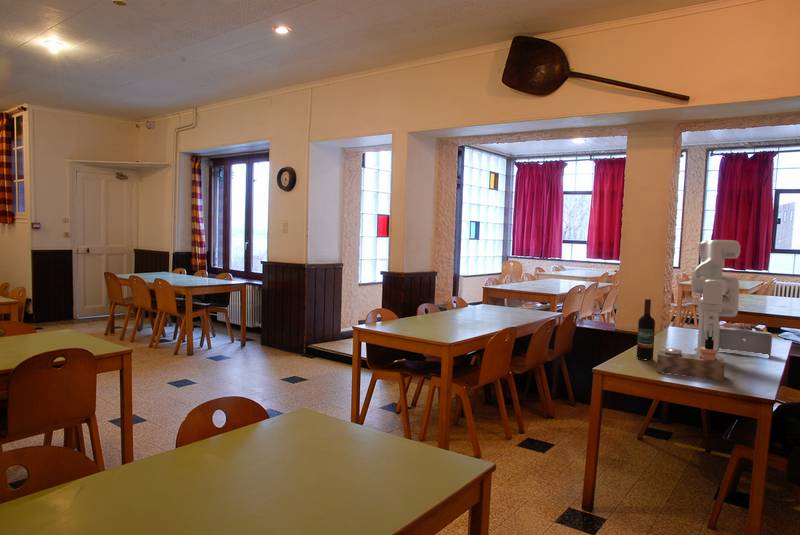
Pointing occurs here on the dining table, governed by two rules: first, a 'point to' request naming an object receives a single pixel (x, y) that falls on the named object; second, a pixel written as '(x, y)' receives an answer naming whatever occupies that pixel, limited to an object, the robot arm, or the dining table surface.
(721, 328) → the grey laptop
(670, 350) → the steel plunger
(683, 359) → the press block
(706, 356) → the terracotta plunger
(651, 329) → the wine bottle
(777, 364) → the dining table surface
